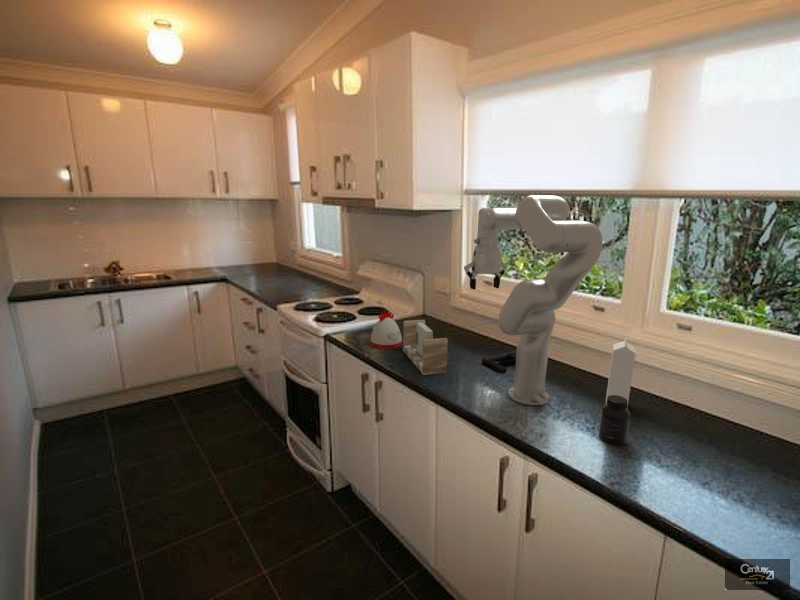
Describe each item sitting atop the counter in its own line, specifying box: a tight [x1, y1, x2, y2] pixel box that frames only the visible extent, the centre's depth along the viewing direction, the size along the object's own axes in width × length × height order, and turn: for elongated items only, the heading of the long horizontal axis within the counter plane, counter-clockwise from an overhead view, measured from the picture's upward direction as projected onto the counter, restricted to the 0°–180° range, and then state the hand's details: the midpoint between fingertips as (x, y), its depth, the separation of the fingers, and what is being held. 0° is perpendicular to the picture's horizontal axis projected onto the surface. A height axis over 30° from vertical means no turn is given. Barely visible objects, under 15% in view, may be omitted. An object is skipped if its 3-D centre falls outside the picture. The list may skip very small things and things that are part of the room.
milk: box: [605, 336, 637, 408], centre depth 131 cm, size 6×6×22 cm
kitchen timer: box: [370, 309, 403, 349], centre depth 186 cm, size 14×14×15 cm
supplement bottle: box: [598, 395, 631, 447], centre depth 113 cm, size 7×7×12 cm
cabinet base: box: [402, 319, 449, 376], centre depth 166 cm, size 26×9×13 cm, turn 16°
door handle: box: [481, 349, 517, 374], centre depth 165 cm, size 3×20×16 cm
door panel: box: [416, 323, 434, 359], centre depth 166 cm, size 12×3×13 cm, turn 16°
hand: (484, 288), depth 159 cm, fingers open, 9 cm apart
